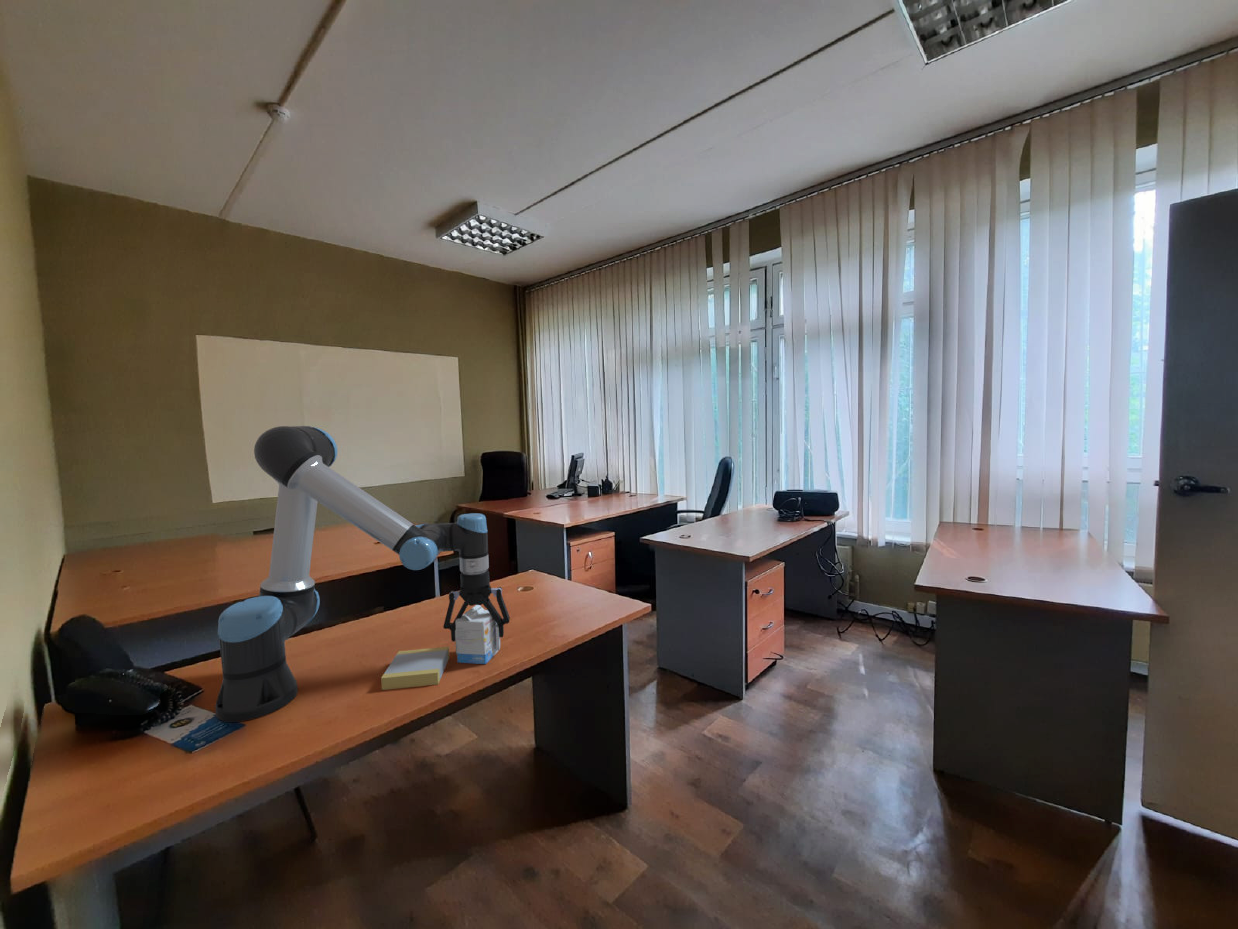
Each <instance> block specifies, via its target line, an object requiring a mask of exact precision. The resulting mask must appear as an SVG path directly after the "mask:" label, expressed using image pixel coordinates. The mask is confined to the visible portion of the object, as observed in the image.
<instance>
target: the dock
mask: <svg viewBox="0 0 1238 929" xmlns="http://www.w3.org/2000/svg"><path fill="white" fill-rule="evenodd" d="M449 659H450V647H449V646H444V647H443V646H442V647H433V648H432V647H431V648H420V649H408V650H398V651H397V653H396V655H395V656H394V657H393V659H392V661H391V662H390V664H389V666H388V667H387V668H386V670H385V672H384V673H383V675H382V676H381V678H380V680H381V681H380V682H381V684H380V685H381V690H382V691H387V690H397V689H407V688H415V687H423V686H424V687H425V686H433V685H434V686H435V685H439V683H440V681H441V679H442V676H443V674H444V671H445V669H446V666H447V664H448V661H449Z"/></svg>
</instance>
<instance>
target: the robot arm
mask: <svg viewBox="0 0 1238 929" xmlns="http://www.w3.org/2000/svg"><path fill="white" fill-rule="evenodd" d="M253 453H254V459H255V462H256V464H257V465H258V466H259V467H260V468H261V470H262V471H264V472H265V474H267V475H268V476H269V477H271V478H272V479H273V480H274V481H275V482H276V483H277V484H278V491H277V492H278V493H277V499H276V501H277V503H276V510H275V519H274V529H273V536H272V548H271V554H270V556H271V557H270V563H269V564H270V565H269V572H268V577H267V578H266V579H264V580H263V581H261V583H260V587H259V593H258V594H259V595H258V596H255V597H251V598H247V599H244V601H239V602H236V603H233V604H231V605H230V606H228V607H227V608H225V609H224V610H223V611H222V612H221V614H220V615H219V618H218V625H217V626H218V627H217V636H218V640H219V650H220V659H221V660H220V661H221V670H222V682H221V685H220V689H219V692H218V696H217V699H216V702H215V706H214V708H215V717H216V719H217V718H218V719H220V720H222V721H221V722H226V723H238V722H245V721H250V720H253V719H254V720H255V719H258V718H260V717H261V718H262V717H263V716H266V715H268V714H269V715H270V714H271V713H273V712H276V711H277V710H280V709H282V708H284V707H285V706H287V705H288V704H289V703H291V702H292V701H293V700H294V699H295V698H296V696H297V695H298V692H299V691H298V682H297V680H296V678H295V677H294V675H293V673H292V671H291V669H290V666H289V665H288V663H287V657H286V644H285V642H286V641H287V640H289V639H290V638H291V637H292V636H293V635H295V634H296V633H297V632H299V631H300V630H301V629H303V628H305V627H306V625H308V624H309V623H310V622H311V621H312V620H313V619H314V617H315V616H316V614H317V613H318V610H319V608H320V602H321V601H320V595H319V592H318V590H316V588H315V586H316V585H315V584H316V581H315V580H314V579H313V578H312V576H311V575H310V570H311V561H312V555H313V554H312V553H313V544H314V535H315V527H316V520H317V519H316V518H317V511H318V509H317V508H318V504H321V505H322V506H324V507H325V508H327V510H330V511H331V512H333V513H334V514H336V515H337V516H340V517H341V518H342V519H343V520H344V521H347V522H349V523H350V524H351V525H353V526H354V527H356V528H357V529H359V530H360V531H362V532H364V533H365V534H366V535H368V536H370V537H371V538H372V539H374V540H376V541H377V542H379V543H380V544H381V545H383V546H385V547H387V548H388V549H390V550H391V551H393V552H394V553H396V554H397V555H398V556H399V560H400V563H401V564H402V566H404V567H405V568H407V569H408V570H412V571H419V570H422V569H426V568H427V567H429V566H430V565H431V564H432V563H434V562H435V560H436V559H437V557H438V556H439V555H440V553H443V552H456V551H457V552H458V553H459V571H460V572H461V573H460V574H459V575H460V590H456V591H455V590H451V591H450V592H449V594H448V600H449V603H448V607H447V612H446V616H445V617H444V618H445V619H444V622H443V626H442V627H443V629H445V630H446V629H448V630H450V637H451V640H450V641H451V642H454V644H455V654H456V655H457V640H456V622H455V621H456V619H458V618H461V617H462V615H464V613H465V612H466V610H467V608H468V606H470V607H472V606H473V607H474V606H476V605H480V606H482V605H483V607H484V608H486V610H488V611H489V613H490V614H491V616H492V617H493V618H494V620H495V621H496V623H497V624H496V647H497V650H499V651H500V650H501V638H503V637H504V633H505V631H504V625H507V624H509V623H510V619H511V617H510V614H509V611H508V608H507V606H506V602H505V600H504V598H503V588H502V587H501V586H499V587H497V588H496V587H495V588H493V587H492V586H491V584H490V570H489V568H490V565H489V564H490V563H489V561H490V560H489V544H488V543H489V541H488V538H489V537H488V535H489V534H488V532H489V531H488V526H487V518H486V515H485V514H483V513H477V512H476V513H475V512H474V513H473V512H471V513H464V514H463V513H462V514H460V515H458V516H457V519H456V520H457V521H455V522H445V523H423V524H414V523H412V522H411V521H410V520H408V519H406V518H405V517H403V516H402V515H401V514H399V513H398V512H396V511H395V510H393V509H391V508H390V507H389V506H388V505H385V503H383V502H381V501H380V500H379V499H377V498H375V497H373V495H371V494H369V493H367V492H366V491H365V490H364V489H362V488H360V487H359V486H358V485H356V484H355V483H353V482H351V481H350V480H348V479H347V478H345V477H344V476H343V475H341V474H340V473H338V472H337V471H336V470H334V469H332V468H331V467H332V465H333V464H334V463H335V461H336V459H337V457H338V446H337V443H336V441H335V439H334V438H333V437H332V435H331V434H329V432H327V431H325V430H323V429H321V428H318V427H315V426H310V425H309V426H308V425H307V426H306V425H295V426H293V425H292V426H290V425H285V426H284V425H281V426H275V427H272V428H269V429H267V430H265V431H264V432H263V433H261V434H260V435H259V437H257V440H256V442H255V444H254V449H253ZM491 594H493V596H494V597H495V598H496V601H497V605H498V608H499V609H500V610H499V611H500V612H501V615H500V613H499V611H498V610H497V609H496V607H495V606H494V604H493V603H492V600H491V599H490V598H489V597H490V595H491ZM459 597H460V598H461V599H462V600H463V603H462V605H461V607H460V609H459V611H458V612H457V615H456V616H455V618H454V620H453V622H451V619H452V616H453V612H454V609H455V605H456V601H457V600H458V598H459ZM218 719H217V720H218ZM220 720H219V721H220Z"/></svg>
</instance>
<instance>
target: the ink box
mask: <svg viewBox="0 0 1238 929" xmlns="http://www.w3.org/2000/svg"><path fill="white" fill-rule="evenodd" d="M455 622H456V640H457V654H456V655H457V656H456V658H457V659H456V660H457V663H462V664H475V665H476V664H477V665H478V664H480V665H486V664H488V663H489V661H490V660H491V659H492V658H493V657H494V656H495V655H496V654H497V653H498V652H499V651H500V650H497V647H496V624H497V623H496V621H495V620H494V618H493V617H492V616H491V614H490V613H489V611H488V610H487V609H484V607H482V605H473V607H471V608H470V609H468V610H467V611H465V612H464V613H463V615H462V617H461V618H458V619H456V621H455Z"/></svg>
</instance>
